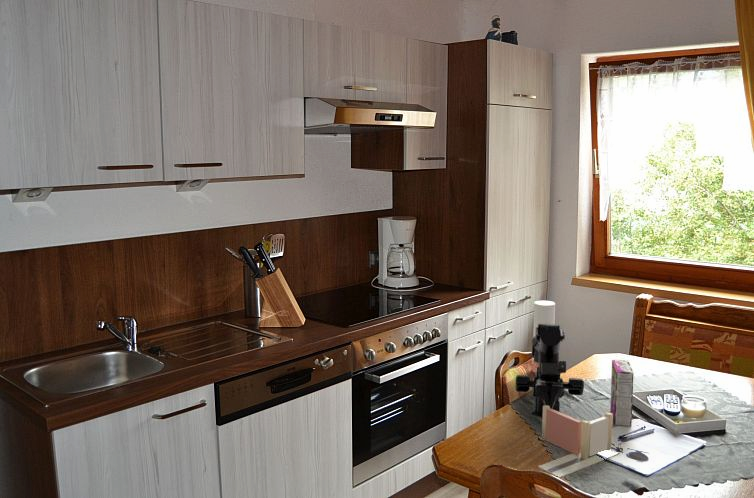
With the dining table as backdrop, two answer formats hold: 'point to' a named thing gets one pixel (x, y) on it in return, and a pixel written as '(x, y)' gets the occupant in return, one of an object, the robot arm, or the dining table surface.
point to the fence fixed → (596, 435)
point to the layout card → (569, 464)
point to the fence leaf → (561, 430)
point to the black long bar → (543, 313)
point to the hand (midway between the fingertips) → (549, 413)
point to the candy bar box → (621, 392)
